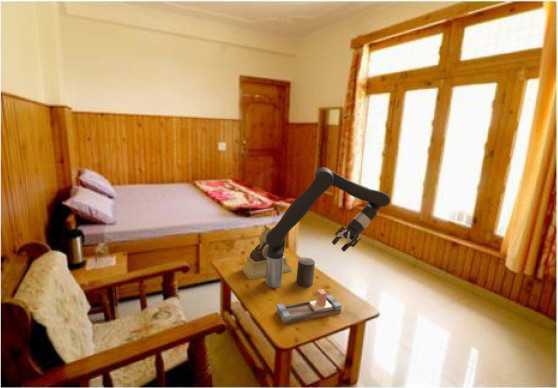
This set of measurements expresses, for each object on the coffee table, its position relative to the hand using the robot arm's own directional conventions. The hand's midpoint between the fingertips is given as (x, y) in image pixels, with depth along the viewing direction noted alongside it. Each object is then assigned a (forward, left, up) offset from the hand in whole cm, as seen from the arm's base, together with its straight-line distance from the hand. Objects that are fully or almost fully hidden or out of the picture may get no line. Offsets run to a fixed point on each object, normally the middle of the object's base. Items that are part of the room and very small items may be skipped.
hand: (337, 247), depth 146 cm
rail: (+4, -16, -31) cm, 35 cm away
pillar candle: (-22, -5, -31) cm, 38 cm away
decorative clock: (-42, -21, -31) cm, 56 cm away
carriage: (+4, -9, -29) cm, 31 cm away
